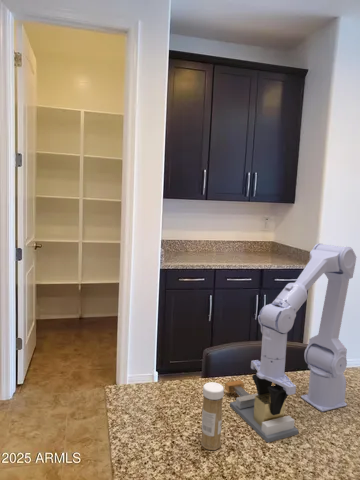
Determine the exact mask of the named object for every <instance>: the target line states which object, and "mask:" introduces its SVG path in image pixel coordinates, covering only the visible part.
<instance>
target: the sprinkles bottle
mask: <svg viewBox="0 0 360 480" xmlns="http://www.w3.org/2000/svg"><path fill="white" fill-rule="evenodd" d="M202 387H203V388H202V396H203V398H202V413H201V438H200V445H201V446H202V447H203V448H204V449H206V450H209V451H216V450H218V449H219V448H220V447H221V445H222V441H221V440H222V439H221V438H222V435H221V434H222V425H223V424H222V423H223V422H222V421H223V417H222V416H223V398H224V395H225V394H224V393H225V386H223V384H220V383H218V382H215V381H213V382H211V381H210V382H209V381H208V382H205V384H203V386H202Z"/></svg>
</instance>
